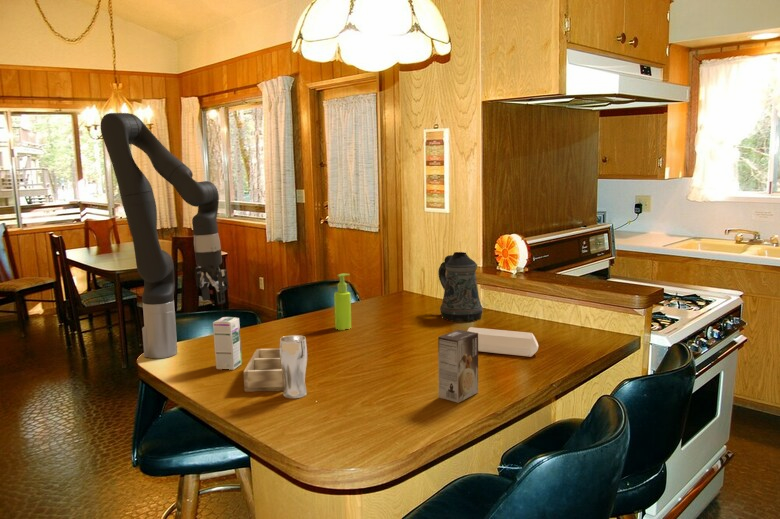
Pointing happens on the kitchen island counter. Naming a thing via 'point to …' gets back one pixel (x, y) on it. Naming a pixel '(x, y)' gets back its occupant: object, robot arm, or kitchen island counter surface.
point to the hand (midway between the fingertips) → (214, 301)
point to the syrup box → (227, 343)
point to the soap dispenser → (342, 305)
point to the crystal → (506, 342)
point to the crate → (264, 371)
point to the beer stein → (459, 288)
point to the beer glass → (293, 365)
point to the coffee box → (458, 365)
